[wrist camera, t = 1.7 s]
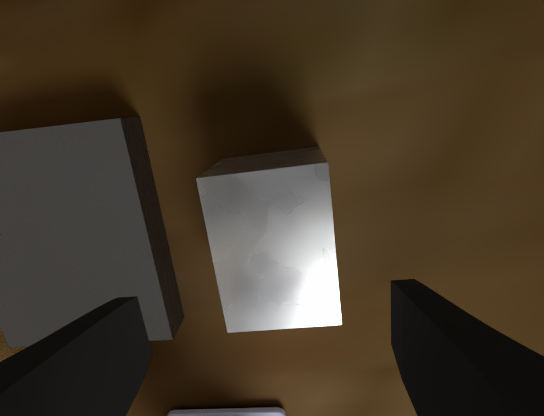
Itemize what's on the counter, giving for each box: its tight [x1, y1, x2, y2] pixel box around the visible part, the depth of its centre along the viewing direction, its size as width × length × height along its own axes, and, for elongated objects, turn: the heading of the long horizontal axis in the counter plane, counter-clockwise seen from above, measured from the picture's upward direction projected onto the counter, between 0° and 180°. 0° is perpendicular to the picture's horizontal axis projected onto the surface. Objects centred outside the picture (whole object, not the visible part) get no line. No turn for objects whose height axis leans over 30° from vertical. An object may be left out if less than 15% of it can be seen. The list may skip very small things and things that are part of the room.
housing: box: [196, 147, 342, 333], centre depth 16 cm, size 7×5×5 cm
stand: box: [0, 117, 184, 348], centre depth 18 cm, size 12×10×2 cm
